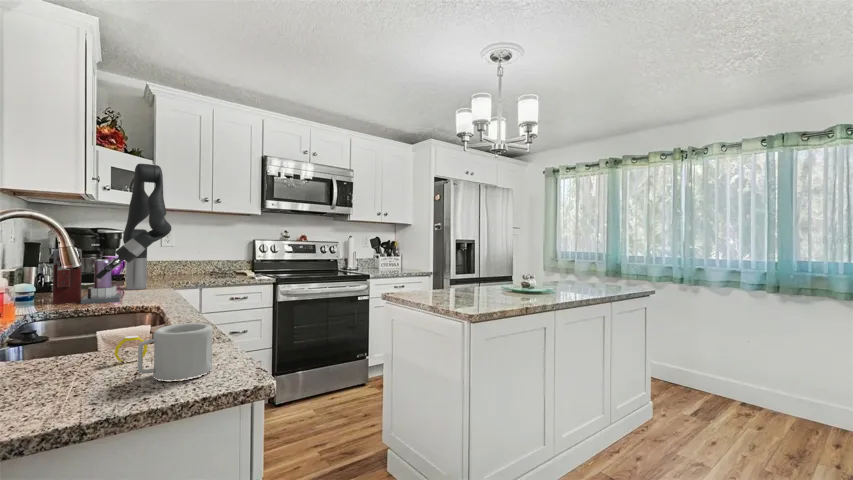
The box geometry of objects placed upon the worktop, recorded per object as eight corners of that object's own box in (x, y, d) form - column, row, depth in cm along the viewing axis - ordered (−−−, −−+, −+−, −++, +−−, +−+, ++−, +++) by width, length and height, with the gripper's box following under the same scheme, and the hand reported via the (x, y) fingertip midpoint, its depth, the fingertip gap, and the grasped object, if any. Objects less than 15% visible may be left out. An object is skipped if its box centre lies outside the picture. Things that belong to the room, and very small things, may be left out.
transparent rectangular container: (85, 299, 183) (85, 286, 183) (121, 296, 190) (121, 284, 190) (80, 304, 168) (80, 290, 168) (119, 301, 176) (119, 288, 176)
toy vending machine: (52, 305, 165) (53, 238, 165) (54, 302, 174) (54, 238, 173) (81, 303, 171) (81, 238, 171) (81, 300, 179) (81, 238, 179)
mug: (200, 363, 92) (200, 320, 92) (220, 373, 85) (221, 327, 85) (129, 378, 81) (130, 330, 81) (146, 391, 75) (147, 339, 75)
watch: (143, 359, 95) (146, 334, 96) (147, 361, 94) (149, 336, 94) (112, 362, 91) (115, 336, 91) (115, 365, 89) (118, 338, 89)
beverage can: (114, 292, 182) (114, 259, 182) (102, 293, 176) (102, 260, 176) (102, 291, 183) (102, 259, 182) (90, 293, 177) (90, 260, 177)
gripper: (124, 244, 189) (91, 270, 183) (123, 245, 178) (88, 272, 171) (138, 255, 193) (106, 281, 186) (137, 256, 181) (104, 284, 174)
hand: (98, 276), depth 178 cm, fingers closed on beverage can, 6 cm apart
